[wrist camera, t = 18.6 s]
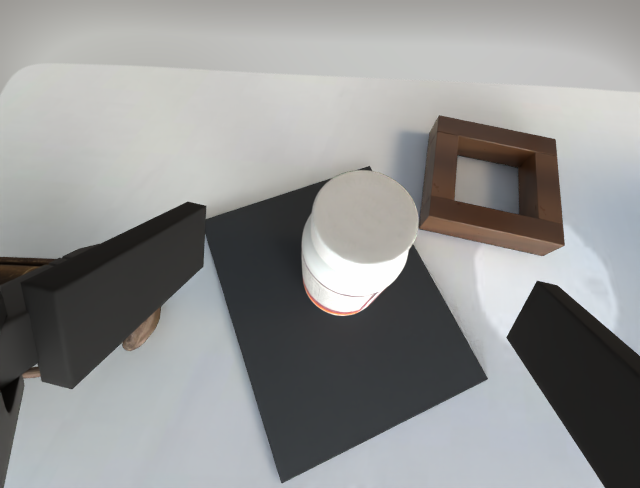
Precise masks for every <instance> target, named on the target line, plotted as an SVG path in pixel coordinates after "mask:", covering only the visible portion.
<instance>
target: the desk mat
mask: <svg viewBox="0 0 640 488" xmlns="http://www.w3.org/2000/svg"><path fill="white" fill-rule="evenodd" d="M359 170H368V171H372V169H371V168H370V166H368V167H365V168H362V169H359ZM331 179H332V178H331ZM331 179H328V180H325V181H322V182H319V183H316V184H313V185H310V186H307V187H304V188H301V189H298V190H295V191H292V192H288V193H285V194H282V195H279V196H276V197H273V198H270V199H267V200H264V201H261V202H258V203H255V204H252V205H249V206H245V207H242V208H239V209H236V210H233V211H230V212H227V213H224V214H221V215H218V216H215V217H212V218H209V219H206V221H205V234H206V237H207V241H208V244H209V247H210V250H211V254H212V257H213V260H214V264H215V267H216V270H217V273H218V277H219V280H220V283H221V286H222V290H223V293H224V296H225V300H226V303H227V306H228V309H229V313H230V316H231V319H232V323H233V326H234V329H235V332H236V336H237V339H238V342H239V345H240V349H241V352H242V355H243V359H244V362H245V365H246V368H247V372H248V375H249V378H250V382H251V385H252V388H253V391H254V395H255V398H256V401H257V404H258V408H259V411H260V414H261V418H262V421H263V424H264V427H265V431H266V434H267V437H268V441H269V444H270V447H271V450H272V454H273V457H274V460H275V463H276V467H277V470H278V473H279V477H280V480H281V483H284V482H286V481H288V480H290V479H292V478H293V477H295V476H297V475H299V474H301V473H303V472H305V471H307V470H309V469H311V468H313V467H315V466H317V465H319V464H321V463H323V462H325V461H327V460H329V459H331V458H333V457H335V456H337V455H339V454H341V453H343V452H345V451H347V450H349V449H351V448H353V447H355V446H357V445H359V444H361V443H363V442H365V441H367V440H369V439H371V438H373V437H375V436H376V435H378V434H380V433H382V432H384V431H386V430H388V429H390V428H392V427H394V426H396V425H398V424H400V423H402V422H404V421H406V420H408V419H410V418H412V417H414V416H416V415H418V414H420V413H422V412H424V411H426V410H428V409H430V408H432V407H434V406H436V405H438V404H440V403H442V402H444V401H446V400H448V399H450V398H452V397H454V396H456V395H458V394H460V393H461V392H463V391H465V390H467V389H469V388H471V387H473V386H475V385H477V384H479V383H481V382H483V381H485V380H487V379H488V378H487V376H486V375H485V373H484V371H483V369H482V367H481V366H480V364H479V362H478V360H477V358H476V357H475V355H474V353H473V351H472V349H471V348H470V346H469V344H468V342H467V340H466V339H465V337H464V335H463V333H462V331H461V330H460V328H459V326H458V324H457V322H456V321H455V319H454V317H453V315H452V313H451V312H450V310H449V308H448V306H447V304H446V303H445V301H444V299H443V297H442V295H441V294H440V292H439V290H438V288H437V286H436V285H435V283H434V281H433V279H432V277H431V276H430V274H429V272H428V270H427V268H426V267H425V265H424V263H423V261H422V259H421V258H420V256H419V254H418V252H417V250H416V249H415V247H414V245H412V246H411V248H410V249H409V250H408V257H407V260H406V263H405V266H404V268H403V269H402V271H401V273H400V274H399V275H398V277H397V278H396V279H395V280H394V281H393V282H392V283H391V284H390V285H389V286H388V287H387V288H386V289H385V290H384V291H383V292H382V293H381V294H380V295H379V296H378V297H377V298H376V299H375V300H374V301H373V302H372V303H371V304H370V305H369V306H367V307H366V308H365V309H363V310H362V311H360V312H358V313H355V314H351V315H344V316H341V315H334V314H330V313H328V312H325V311H323V310H322V309H320V308H319V307H317V306H316V305H315V304H314V303H313V302H312V301H311V299H310V298H309V296H308V294H307V293H306V290H305V287H304V283H303V274H302V235H303V230H304V227H305V224H306V222H307V219H308V218H309V216H310V215H311V213H312V208H313V203H314V200H315V198H316V196H317V194H318V192H319V191H320V190H321V188H322V187H323V186H324V185H325V184H326V183H327V182H328V181H330V180H331Z"/></svg>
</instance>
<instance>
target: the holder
mask: <svg viewBox="0 0 640 488" xmlns="http://www.w3.org/2000/svg"><path fill="white" fill-rule="evenodd" d="M457 155H460V156H465V157H469V158H474V159H479V160H484V161H488V162H493V163H498V164H503V165H508V166H512V167H517V168H518V179H519V214H514V213H509V212H505V211H500V210H495V209H491V208H486V207H482V206H477V205H472V204H468V203H463V202H458V201H454V198H455V182H456V167H457ZM419 229H422V230H427V231H431V232H436V233H441V234H445V235H450V236H454V237H459V238H463V239H468V240H472V241H477V242H481V243H486V244H491V245H495V246H500V247H504V248H509V249H513V250H518V251H522V252H527V253H531V254H536V255H541V256H544V255H546V254H548V253H550V252H552V251H554V250H556V249H559V248H561V247H563V246H564V245H565V243H564V231H563V220H562V208H561V197H560V185H559V173H558V162H557V150H556V140H555V139H552V138H547V137H542V136H537V135H532V134H528V133H523V132H518V131H513V130H508V129H503V128H498V127H493V126H489V125H484V124H479V123H474V122H469V121H464V120H459V119H455V118H450V117H445V116H440V115H439V116H438V118H437V120H436V122H435V124H434V126H433V128H432V129H431V131H430V133H429V141H428V150H427V159H426V168H425V177H424V186H423V195H422V204H421V212H420V221H419Z"/></svg>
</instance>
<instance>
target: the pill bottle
mask: <svg viewBox="0 0 640 488" xmlns="http://www.w3.org/2000/svg"><path fill="white" fill-rule="evenodd" d="M418 225H419V220H418V212H417V209H416V206H415V204H414V201H413V199H412V197H411V196H410V195H409V193H408V192H407V191H406V190H405V189H404V187H403V186H402V185H400V184H399V183H398V182H396V181H395V180H393V179H392V178H390V177H388V176H386V175H384V174H381V173H378V172H374V171H368V170H356V171H349V172H345V173H342V174H340V175H338V176H336V177H334V178H332V179H331V180H330V181H328V182H327V183H326V184H325V185H324V186H323V187H322V188H321V190H320V191H319V192H318V194H317V196H316V198H315V200H314V203H313V208H312V213H311V215H310V216H309V218H308V219H307V222H306V224H305V227H304V230H303V235H302V274H303V283H304V287H305V290H306V293H307V294H308V296H309V298H310V299H311V301H312V302H313V303H314V304H315V305H316V306H317V307H319V308H320V309H322V310H323V311H325V312H328V313H330V314H334V315H341V316H344V315H351V314H355V313H358V312H360V311H362V310H363V309H365V308H366V307H367V306H369V305H370V304H371V303H372V302H373V301H374V300H375V299H376V298H377V297H378V296H379V295H380V294H381V293H382V292H383V291H384V290H385V289H386V288H387V287H388V286H389V285H390V284H391V283H392V282H393V281H394V280H395V279H396V278H397V277H398V275H399V274H400V273H401V271H402V269H403V268H404V266H405V263H406V260H407V257H408V250H409V249H410V248H411V246H412V245H413V243H414V241H415V239H416V236H417V232H418Z"/></svg>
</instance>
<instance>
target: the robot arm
mask: <svg viewBox="0 0 640 488" xmlns="http://www.w3.org/2000/svg"><path fill="white" fill-rule="evenodd" d="M205 221H206V206H204V205H200V204H196V203H191V202H186V203H184V204H182V205H180V206H178V207H176V208H174V209H172V210H170V211H168V212H166V213H163V214H161V215H159V216H157V217H155V218H153V219H151V220H149V221H147V222H145V223H143V224H141V225H139V226H136V227H134V228H132V229H130V230H128V231H126V232H124V233H122V234H120V235H118V236H116V237H114V238H112V239H109V240H107V241H105V242H103V243H101V244H97V245H93V246H88V247H84V248H80V249H78V250H75V251H73V252H71V253H69V254H67V255H65V256H63V258H58V259H56V260H54V261H52V262H50V263H49V264H48V265H46V264H45V265H43V266H41V267H39V268H37V269H34V270H32V271H30V272H28V273H26V274H24V275H21V276H19V277H17V278H15V279H13V280H11V281H9V282H6V283H4V284H2V285H0V488H4V483H5V479H6V474H7V469H8V464H9V459H10V454H11V449H12V444H13V439H14V434H15V429H16V425H17V420H18V415H19V410H20V405H21V400H22V395H23V390H24V380H23V375H22V374H23V373H25V372H26V371H27V370H28V369H30V368H31V367H32V366H34V365H35V364H36V363H38V366H39V371H40V376H41V380H42V382H46V383H50V384H54V385H58V386H61V387H65V388H69V389H73V388H74V387H75V386H76V385H77V384H78V383H79V382H80V381H81V380H82V379H84V378H85V377H86V376H87V375H88V374H89V373H90V372H91V371H92V370H93V369H94V368H95V367H96V366H97V365H99V364H100V363H101V362H102V361H103V360H104V359H105V358H106V357H107V356H108V355H109V354H110V353H111V352H112V351H113V350H115V349H116V348H117V347H118V346H119V345H120V344H121V343H122V342H123V341H124V340H125V339H126V338H127V337H128V336H129V335H131V334H132V333H133V332H134V331H135V330H136V329H137V328H138V327H139V326H140V325H141V324H142V323H143V322H144V321H146V320H147V319H148V318H149V317H150V316H151V315H152V314H153V313H154V312H155V311H156V310H157V309H158V308H159V307H160V306H162V305H163V304H164V303H165V302H166V301H167V300H168V299H169V298H170V297H171V296H172V295H173V294H174V293H175V292H176V291H178V290H179V289H180V288H181V287H182V286H183V285H184V284H185V283H186V282H187V281H188V280H189V279H190V278H191V277H192V276H194V275H195V274H196V273H197V272H198V271H199V270H200V269H201V268H202V267H203V262H204V241H205ZM507 339H508V341H509V342H510V344H511V345H512V347H513V348H514V350H515V351H516V353H517V354H518V356H519V357H520V359H521V360H522V362H523V363H524V365H525V367H526V368H527V370H528V371H529V373H530V374H531V376H532V377H533V379H534V380H535V382H536V383H537V385H538V386H539V388H540V389H541V391H542V392H543V394H544V395H545V397H546V398H547V400H548V401H549V403H550V405H551V406H552V408H553V409H554V411H555V412H556V414H557V415H558V417H559V418H560V420H561V421H562V423H563V424H564V426H565V427H566V429H567V430H568V432H569V433H570V435H571V436H572V438H573V440H574V441H575V443H576V444H577V446H578V447H579V449H580V450H581V452H582V453H583V455H584V456H585V458H586V459H587V461H588V462H589V464H590V465H591V467H592V468H593V470H594V471H595V473H596V474H597V476H598V478H599V479H600V481H601V482H602V484H603V485H604V487H605V488H640V356H639V355H638V354H637V353H636V352H634V351H633V350H632V349H631V348H630V347H629V346H627V345H626V344H625V343H624V342H623V341H622V340H620V339H619V338H618V337H617V336H616V335H615V334H613V333H612V332H611V331H610V330H609V329H608V328H606V327H605V326H604V325H603V324H602V323H601V322H599V321H598V320H597V319H596V318H595V317H594V316H592V315H591V314H590V313H589V312H588V311H587V310H585V309H584V308H583V307H582V306H581V305H580V304H578V303H577V302H576V301H575V300H574V299H573V298H571V297H570V296H569V295H568V294H567V293H566V292H564V291H563V290H562V289H561V288H560V287H559V286H557V285H553V284H549V283H545V282H540V281H537V282H536V284H535V286H534V287H533V289H532V291H531V293H530V295H529V297H528V299H527V300H526V302H525V304H524V306H523V308H522V310H521V312H520V313H519V315H518V317H517V319H516V321H515V323H514V325H513V326H512V328H511V330H510V332H509V334H508V336H507Z"/></svg>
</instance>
